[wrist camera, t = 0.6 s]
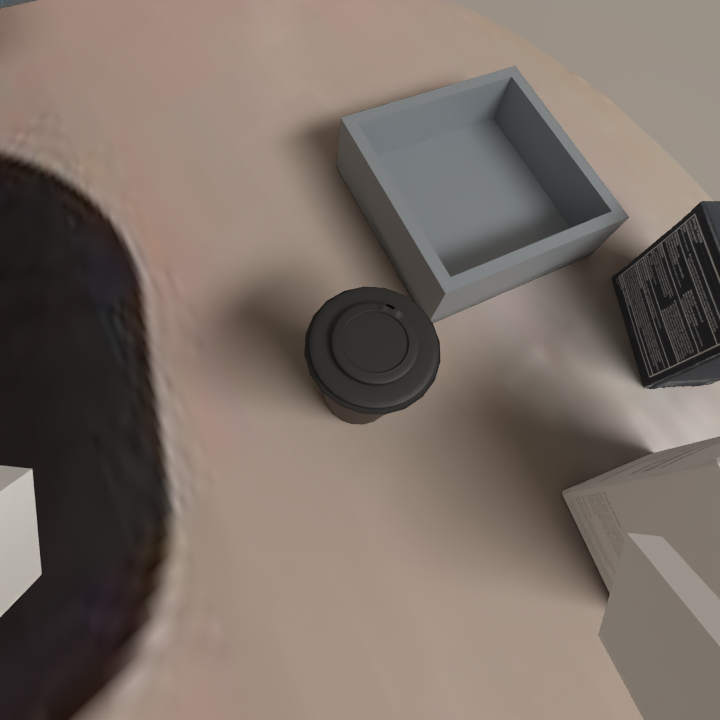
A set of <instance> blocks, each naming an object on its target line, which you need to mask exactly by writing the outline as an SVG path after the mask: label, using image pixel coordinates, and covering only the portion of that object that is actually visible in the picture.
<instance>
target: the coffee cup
mask: <svg viewBox="0 0 720 720" xmlns="http://www.w3.org/2000/svg"><path fill="white" fill-rule="evenodd" d="M305 358H306V361H307V365H308V368H309V372H310V375H311V376H312V378H313V379H314V381H315V382H316V383H317V385H318V386H319V388H320V389H321V391H322V392H323V395H324V398H325V402H326V405H327V406H328V407H329V409H330V410H331V412H332V413H333V414H334V415H335V416H337V417H338V418H339V419H341V420H343V421H345V422H348V423H351V424H366V423H370V422H374V421H375V420H377V419H378V418H380V417H381V416H383V415H384V414H388V413H392V412H395V411H399V410H403V409H405V408H407V407H408V406H410V405H411V404H413V403H414V402H416V401H417V400H419V399H420V398H422V397H423V396H424V394H425V393H426V391H427V390H428V389H429V387H430V386H431V385H432V383H433V382H434V381H435V377H436V374H437V371H438V368H439V364H440V342H439V339H438V336H437V334H436V331H435V328H434V326H433V323H432V322H431V320H430V319H429V318H428V317H427V315H426V314H425V312H424V311H423V310H422V309H421V308H420V307H419V306H418V305H417V304H415V303H414V302H413V301H411V300H410V299H408V298H407V297H406V296H404V295H402V294H399V293H397V292H395V291H392V290H388V289H385V288H377V287H361V288H356V289H351V290H347V291H343V292H342V293H340V294H338V295H336V296H335V297H333V298H331V299H329V300H328V301H326V302H325V304H324V305H323V306H322V307H321V308H320V309H319V310H318V311H317V312H316V313H315V315H314V316H313V318H312V320H311V323H310V325H309V327H308V330H307V332H306V338H305Z"/></svg>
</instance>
